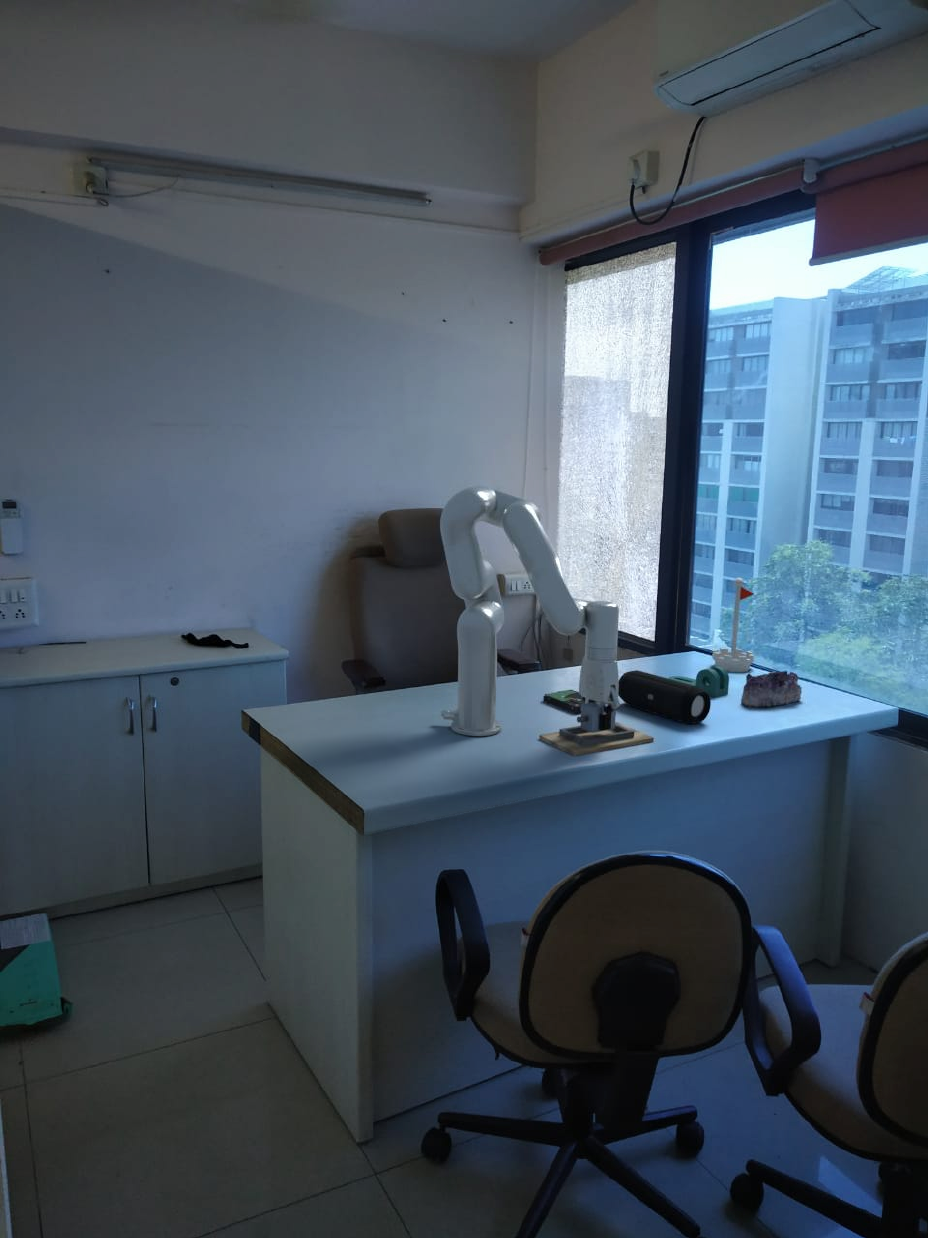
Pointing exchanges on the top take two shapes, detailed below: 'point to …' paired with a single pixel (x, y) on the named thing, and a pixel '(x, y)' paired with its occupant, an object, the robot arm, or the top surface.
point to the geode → (771, 690)
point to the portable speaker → (664, 696)
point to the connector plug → (593, 717)
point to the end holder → (595, 739)
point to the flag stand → (735, 640)
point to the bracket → (709, 681)
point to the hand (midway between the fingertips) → (597, 726)
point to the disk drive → (565, 700)
